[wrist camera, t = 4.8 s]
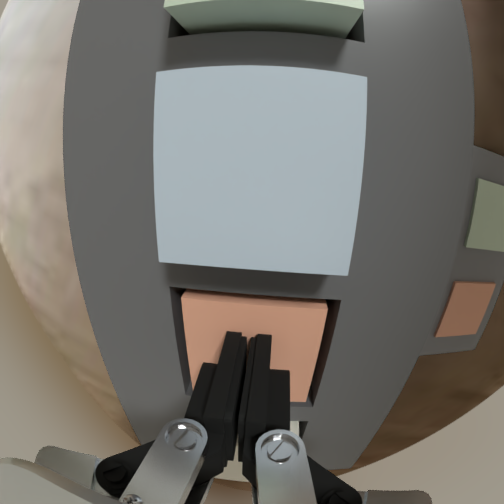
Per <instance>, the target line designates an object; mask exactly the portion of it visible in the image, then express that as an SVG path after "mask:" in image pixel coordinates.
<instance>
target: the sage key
mask: <svg viewBox="0 0 504 504" xmlns="http://www.w3.org/2000/svg"><path fill="white" fill-rule="evenodd" d="M164 8H165V9H166V10H167V11H168V12H169V13H170V14H171V15H172V16H173V17H174V18H175V19H176V20H177V22H178V23H179V24H180V25H181V26H182V27H183V28H184V29H185V30H186V31H187V32H188V33H189V34H190V35H195V34H205V33H218V32H239V31H269V32H290V33H303V34H313V35H322V36H329V37H336V38H342V39H345V38H346V37H347V35H348V33H349V32H350V30H351V29H352V27H353V26H354V24H355V23H356V21H357V20H358V18H359V17H360V15H361V14H362V12H363V11H364V1H363V0H165V1H164Z"/></svg>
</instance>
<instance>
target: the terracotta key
mask: <svg viewBox="0 0 504 504" xmlns="http://www.w3.org/2000/svg"><path fill="white" fill-rule="evenodd" d="M181 302H182V312H183V321H184V330H185V338H186V346H187V354H188V361H189V368H190V375H191V381H192V388H193V390H194V387H195V384H196V381H197V378H198V375H199V372H200V369H201V366H202V364H203V362H206V363H214V364H218V361H219V357H220V354H221V350H222V347H223V343H224V339H225V336H226V332H227V331H233V332H242V336H246V337H247V355H246V368H247V362H248V356H249V349H250V343H251V337H257V334H268V335H272V344H271V360H270V369H277V370H290V402H306V399H307V396H308V392H309V388H310V384H311V381H312V377H313V373H314V369H315V365H316V361H317V357H318V352H319V348H320V344H321V339H322V335H323V330H324V326H325V321H326V316H327V311H328V308H327V304H326V300H325V299H315V298H298V297H283V296H268V295H255V294H243V293H231V292H220V291H209V290H199V289H189V288H187V289H186V290H185V292H184V294H183V295H182V297H181Z"/></svg>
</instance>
